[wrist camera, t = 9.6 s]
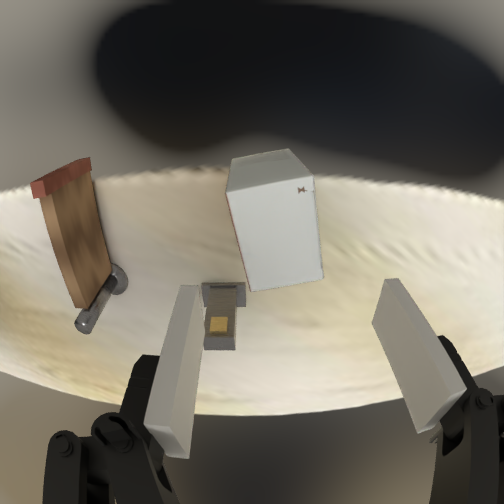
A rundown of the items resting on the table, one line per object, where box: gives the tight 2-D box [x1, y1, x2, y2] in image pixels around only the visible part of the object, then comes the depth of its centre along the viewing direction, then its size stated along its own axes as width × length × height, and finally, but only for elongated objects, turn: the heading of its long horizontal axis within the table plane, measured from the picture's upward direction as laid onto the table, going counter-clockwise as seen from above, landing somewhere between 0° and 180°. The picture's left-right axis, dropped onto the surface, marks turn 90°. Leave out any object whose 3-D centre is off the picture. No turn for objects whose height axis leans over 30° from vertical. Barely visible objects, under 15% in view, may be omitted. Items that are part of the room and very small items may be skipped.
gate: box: [30, 158, 112, 309], centre depth 24 cm, size 13×2×8 cm, turn 1°
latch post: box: [201, 283, 246, 350], centre depth 30 cm, size 5×3×8 cm, turn 91°
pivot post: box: [74, 263, 128, 334], centre depth 28 cm, size 4×4×9 cm
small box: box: [225, 149, 324, 292], centre depth 23 cm, size 8×6×10 cm
